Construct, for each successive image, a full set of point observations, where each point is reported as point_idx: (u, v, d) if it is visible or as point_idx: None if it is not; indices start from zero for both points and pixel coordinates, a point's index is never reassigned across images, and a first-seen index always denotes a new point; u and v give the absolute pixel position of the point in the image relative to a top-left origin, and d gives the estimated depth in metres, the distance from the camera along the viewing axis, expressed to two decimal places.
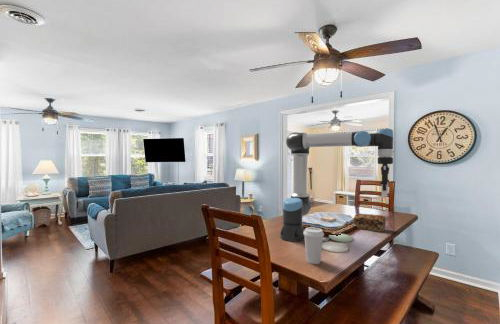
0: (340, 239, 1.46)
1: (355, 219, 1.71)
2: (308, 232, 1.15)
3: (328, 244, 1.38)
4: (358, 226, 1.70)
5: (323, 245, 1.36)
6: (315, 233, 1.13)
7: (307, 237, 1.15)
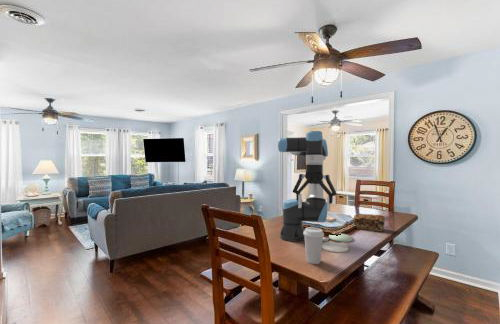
0: (340, 239, 1.46)
1: (355, 220, 1.70)
2: (308, 232, 1.15)
3: (328, 244, 1.38)
4: (358, 226, 1.69)
5: (323, 245, 1.36)
6: (315, 233, 1.13)
7: (307, 237, 1.15)
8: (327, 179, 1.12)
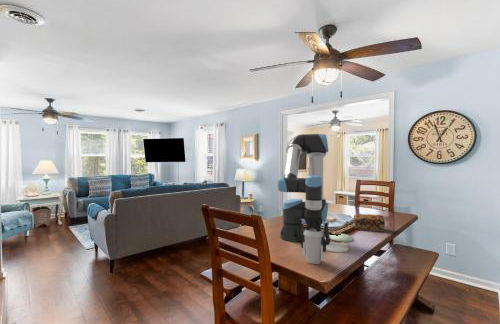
0: (340, 239, 1.46)
1: (356, 220, 1.68)
2: (308, 232, 1.15)
3: None
4: (359, 227, 1.68)
5: None
6: (315, 233, 1.13)
7: (307, 237, 1.15)
8: (325, 227, 1.13)
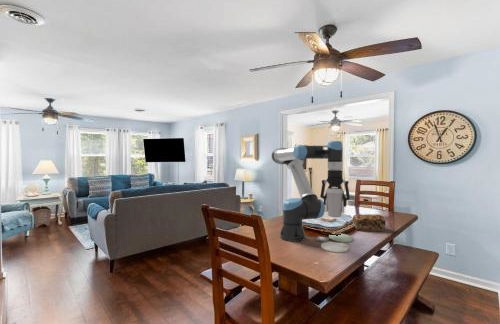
0: (340, 239, 1.46)
1: (358, 221, 1.66)
2: (330, 189, 1.31)
3: (328, 244, 1.38)
4: (361, 228, 1.66)
5: (323, 245, 1.36)
6: (337, 190, 1.30)
7: (330, 194, 1.32)
8: (346, 185, 1.30)
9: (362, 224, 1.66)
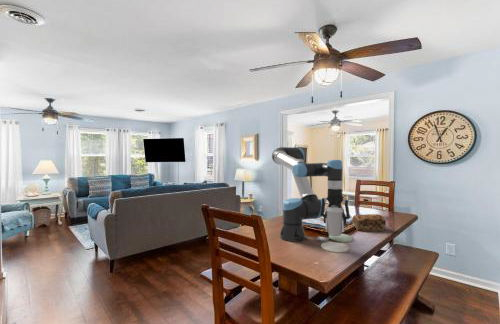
0: (340, 239, 1.46)
1: (359, 221, 1.65)
2: (330, 208, 1.32)
3: (328, 244, 1.38)
4: (362, 228, 1.65)
5: (323, 245, 1.36)
6: (337, 209, 1.30)
7: (330, 213, 1.32)
8: (346, 204, 1.30)
9: (363, 224, 1.65)
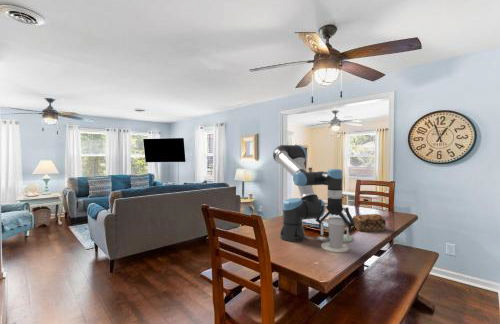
0: None
1: (361, 222, 1.64)
2: (332, 221, 1.31)
3: (328, 244, 1.38)
4: (364, 229, 1.64)
5: (323, 245, 1.36)
6: (338, 221, 1.30)
7: (331, 225, 1.32)
8: (347, 212, 1.30)
9: (364, 225, 1.64)
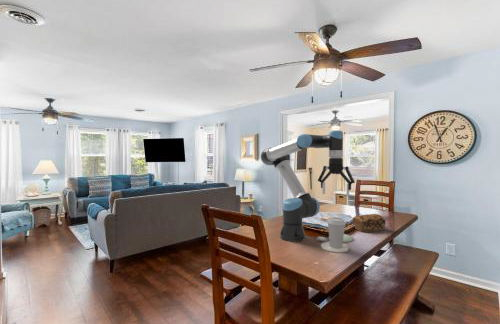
0: None
1: (363, 222, 1.62)
2: (332, 221, 1.31)
3: (328, 244, 1.38)
4: (366, 229, 1.63)
5: (323, 245, 1.36)
6: (338, 221, 1.30)
7: (331, 225, 1.32)
8: (347, 170, 1.38)
9: (366, 225, 1.63)
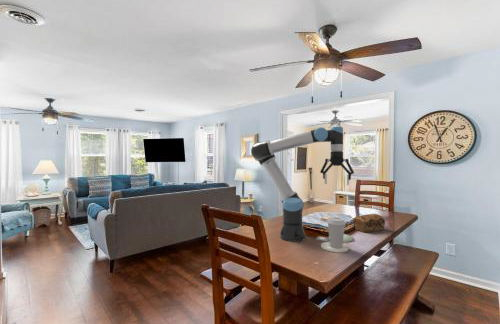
0: None
1: (365, 223, 1.61)
2: (332, 221, 1.31)
3: (328, 244, 1.38)
4: (367, 230, 1.62)
5: (323, 245, 1.36)
6: (338, 221, 1.30)
7: (331, 225, 1.32)
8: (347, 162, 1.53)
9: (368, 225, 1.62)
